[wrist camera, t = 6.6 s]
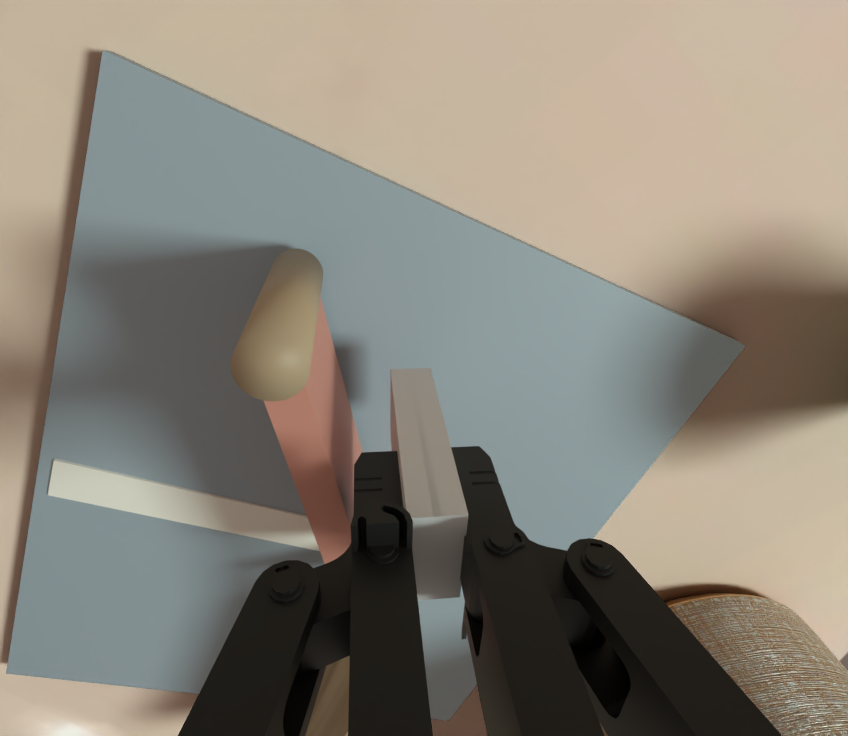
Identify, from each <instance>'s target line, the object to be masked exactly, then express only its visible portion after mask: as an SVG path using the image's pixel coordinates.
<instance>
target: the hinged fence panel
mask: <svg viewBox="0 0 848 736" xmlns="http://www.w3.org/2000/svg"><path fill="white" fill-rule="evenodd" d="M322 281H323V269H322V266H321V264H320V262H319V260H318V259H317V258H316V257H315V256H314V255H313V254H312V253H310V252H308V251H306V250H303V249H289V250H286V251H284V252H282V253H280V254H279V255H278V256H277V257H276V259H275V261H274V262H273V265H272V267H271V269H270V271H269V274H268V276H267V278H266V280H265V283H264V285H263V287H262V289H261V292H260V294H259V296H258V298H257V301H256V303H255V305H254V307H253V310H252V312H251V314H250V316H249V319H248V321H247V323H246V325H245V328H244V330H243V332H242V334H241V336H240V339H239V341H238V343H237V345H236V348H235V350H234V352H233V354H232V357H231V362H230V369H231V374H232V377H233V379H234V381H235V382H236V384H237V385H238V386H239V387H240V388H241V389H242V390H243V391H244V392H245V393H247V394H248V395H250V396H252V397H254V398H256V399H260V400H264V403H265V406H266V408H267V411H268V414H269V416H270V419H271V422H272V424H273V427H274V430H275V432H276V435H277V438H278V440H279V443H280V446H281V448H282V451H283V454H284V456H285V459H286V462H287V464H288V467H289V470H290V472H291V475H292V478H293V480H294V483H295V486H296V488H297V491H298V494H299V496H300V499H301V502H302V504H303V507H304V510H305V512H306V515H307V518H308V520H309V523H310V526H311V528H312V531H313V534H314V536H315V539H316V542H317V544H318V547H319V550H320V552H321V555H322V558H323V560H324V563H325V564H326V563H329V562H331V561H333V560H335V559H337V558H338V557H339V556H341V555H342V554H343V553H344V552H345V551H346V550H347V549H348V548H349V546H350V544H351V526H350V525H351V522H352V518H353V513H354V464H355V463H356V461H357V459H358V458H359V456H360V454H361V453H362V452H363V451H362V447H361V444H360V440H359V436H358V433H357V429H356V425H355V422H354V418H353V414H352V411H351V407H350V403H349V400H348V396H347V392H346V389H345V385H344V381H343V378H342V374H341V370H340V367H339V363H338V359H337V356H336V352H335V348H334V345H333V341H332V337H331V334H330V330H329V326H328V323H327V319H326V315H325V312H324V308H323V304H322V301H321V297H320V296H321V288H322Z"/></svg>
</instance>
